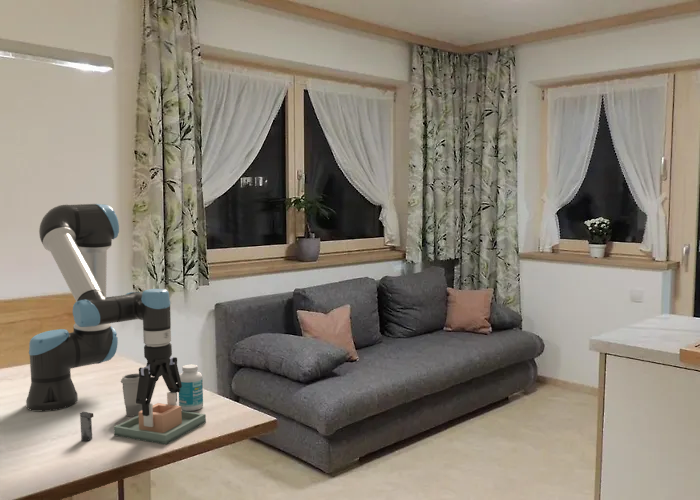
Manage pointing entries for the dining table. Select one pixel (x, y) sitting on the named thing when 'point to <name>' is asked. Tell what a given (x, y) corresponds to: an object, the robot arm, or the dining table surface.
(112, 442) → the dining table surface
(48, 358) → the robot arm
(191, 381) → the pill bottle
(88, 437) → the post
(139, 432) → the tray
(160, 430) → the pink open box
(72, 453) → the dining table surface
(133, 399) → the cup
